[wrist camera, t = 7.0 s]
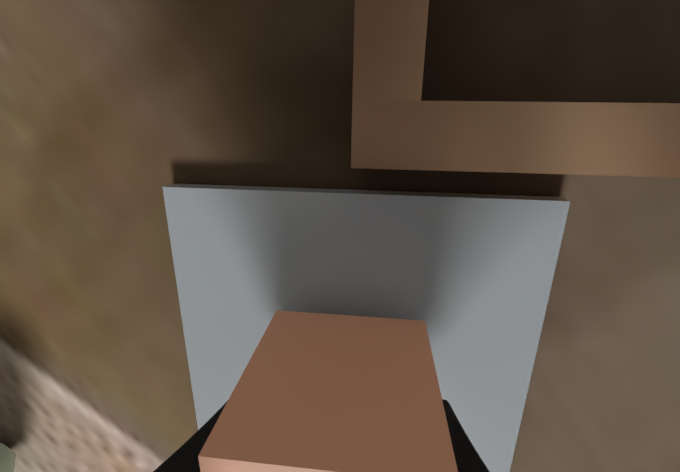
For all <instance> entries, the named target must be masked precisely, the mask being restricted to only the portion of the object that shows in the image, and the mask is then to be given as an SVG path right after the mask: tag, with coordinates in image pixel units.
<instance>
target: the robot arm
mask: <svg viewBox="0 0 680 472" xmlns="http://www.w3.org/2000/svg"><path fill="white" fill-rule="evenodd" d="M442 401H443V406H444V410H445V415H446V419H447V424H448V428H449V433H450V438H451V442H452V447H453V451H454V456H455V460H456V465H457V470H458V472H490V471H489V470H488V468H487V467H486V465H485V464H484V462H483V461H482V459H481V458H480V456H479V454H478V453H477V451H476V449H475V448H474V446H473V445H472V443H471V441H470V439H469V438H468V436H467V434H466V433H465V431H464V429H463V427H462V426H461V424H460V422H459V420H458V418H457V417H456V415H455V413H454V411H453V409H452V407H451V405H450V403H449V402H448V401H447V400H444V399H442ZM226 403H227V402H226ZM226 403H225V404H224V405H223V406H222V407H221V408H220V409H219V410H218V411H217V412H216V413H215V414H214V415H213V416H212V417H211V418H210V419H209V420H208V421H207V422H206V423H205V424H204V425H203V426H202V427H201V428H200V429H199V430H198V431H197V432H196V433H195V434H194V435H193V436H192V437H191V438H190V439H189V440H188V441H187V442H186V443H185V444H184V445H182V446H181V447H180V448H179V449H178V450H177V451H176V452H175V453H174V454H173V455H171V456H170V457H169V458H168V459H167V460H166V461H165V462H164V463H163V464H161V465H160V466H159V467H158V468H157V469H156V470H155V471H154V472H200V465H199V459H198V455H199V454H200V452H201V450H202V448H203V446H204V444H205V442H206V441H207V439H208V437H209V435H210V433H211V431H212V429H213V428H214V426H215V424H216V422H217V420H218V418H219V416H220V414H221V413H222V411H223V409H224V407H225V405H226Z"/></svg>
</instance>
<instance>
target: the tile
mask: <svg viewBox="0 0 680 472" xmlns="http://www.w3.org/2000/svg"><path fill="white" fill-rule="evenodd" d="M163 194H164V201H165V208H166V214H167V221H168V228H169V235H170V242H171V248H172V255H173V262H174V269H175V276H176V282H177V289H178V296H179V303H180V310H181V316H182V323H183V330H184V337H185V344H186V350H187V357H188V364H189V371H190V378H191V384H192V391H193V398H194V405H195V412H196V419H197V425H198V430H199V429H200V428H201V427H202V426H203V425H204V424H205V423H206V422H207V421H208V420H209V419H210V418H211V417H212V416H213V415H214V414H215V413H216V412H217V411H218V410H219V409H220V408H221V407H222V406H223V405H224V404H225V403H226V402H227V401H228V400H229V398H230V396H231V394H232V392H233V390H234V388H235V387H236V385H237V383H238V381H239V379H240V377H241V375H242V374H243V372H244V370H245V368H246V366H247V364H248V362H249V361H250V359H251V357H252V355H253V353H254V351H255V349H256V348H257V346H258V344H259V342H260V340H261V338H262V336H263V335H264V333H265V331H266V329H267V327H268V325H269V323H270V322H271V320H272V318H273V316H274V314H275V312H276V310H279V311H293V312H307V313H322V314H336V315H350V316H365V317H379V318H393V319H408V320H422V321H425V323H426V328H427V332H428V337H429V341H430V346H431V351H432V355H433V360H434V364H435V369H436V373H437V378H438V383H439V387H440V392H441V396H442V399H444V400H447V401H448V402H449V403H450V405H451V407H452V409H453V411H454V413H455V415H456V417H457V418H458V420H459V422H460V424H461V426H462V427H463V429H464V431H465V433H466V434H467V436H468V438H469V439H470V441H471V443H472V445H473V446H474V448H475V449H476V451H477V453H478V454H479V456H480V458H481V459H482V461H483V462H484V464H485V465H486V467H487V468H488V470H489V471H490V472H510V467H511V463H512V459H513V454H514V450H515V445H516V441H517V436H518V432H519V427H520V423H521V419H522V414H523V410H524V405H525V401H526V396H527V392H528V387H529V383H530V379H531V374H532V370H533V365H534V361H535V356H536V352H537V347H538V343H539V339H540V334H541V330H542V325H543V321H544V316H545V312H546V307H547V303H548V299H549V294H550V290H551V285H552V281H553V276H554V272H555V267H556V263H557V259H558V254H559V250H560V245H561V241H562V236H563V232H564V228H565V223H566V219H567V214H568V210H569V205H570V201H569V200H566V199H564V198H562V197H553V196H524V195H494V194H465V193H436V192H407V191H378V190H349V189H320V188H291V187H261V186H232V185H203V184H174V183H173V184H170V185H167V186H164V187H163Z"/></svg>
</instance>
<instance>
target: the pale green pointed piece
mask: <svg viewBox="0 0 680 472" xmlns="http://www.w3.org/2000/svg"><path fill="white" fill-rule="evenodd" d="M15 457H16V453H15V452H14V451H12V450H11V449H10V448H8V447H7V446H6V445H4V444H2V443H0V472H14V465H15Z"/></svg>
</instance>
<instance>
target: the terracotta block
mask: <svg viewBox="0 0 680 472" xmlns="http://www.w3.org/2000/svg"><path fill="white" fill-rule="evenodd" d="M198 459H199V465H200V472H458V470H457V465H456V460H455V456H454V451H453V447H452V442H451V438H450V433H449V428H448V424H447V419H446V415H445V410H444V406H443V401H442V396H441V392H440V387H439V383H438V378H437V373H436V369H435V364H434V360H433V355H432V351H431V346H430V341H429V337H428V332H427V328H426V323H425V321H422V320H408V319H393V318H379V317H365V316H350V315H336V314H322V313H307V312H293V311H279V310H276V312H275V314H274V316H273V318H272V320H271V322H270V323H269V325H268V327H267V329H266V331H265V333H264V335H263V336H262V338H261V340H260V342H259V344H258V346H257V348H256V349H255V351H254V353H253V355H252V357H251V359H250V361H249V362H248V364H247V366H246V368H245V370H244V372H243V374H242V375H241V377H240V379H239V381H238V383H237V385H236V387H235V388H234V390H233V392H232V394H231V396H230V398H229V400H228V401H227V403H226V405H225V407H224V409H223V411H222V413H221V414H220V416H219V418H218V420H217V422H216V424H215V426H214V428H213V429H212V431H211V433H210V435H209V437H208V439H207V441H206V442H205V444H204V446H203V448H202V450H201V452H200V454H199V455H198Z"/></svg>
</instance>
